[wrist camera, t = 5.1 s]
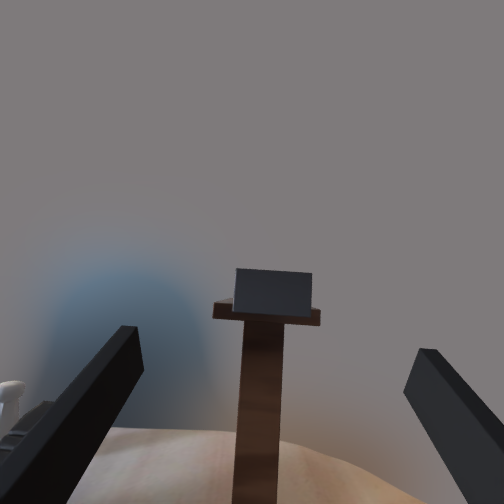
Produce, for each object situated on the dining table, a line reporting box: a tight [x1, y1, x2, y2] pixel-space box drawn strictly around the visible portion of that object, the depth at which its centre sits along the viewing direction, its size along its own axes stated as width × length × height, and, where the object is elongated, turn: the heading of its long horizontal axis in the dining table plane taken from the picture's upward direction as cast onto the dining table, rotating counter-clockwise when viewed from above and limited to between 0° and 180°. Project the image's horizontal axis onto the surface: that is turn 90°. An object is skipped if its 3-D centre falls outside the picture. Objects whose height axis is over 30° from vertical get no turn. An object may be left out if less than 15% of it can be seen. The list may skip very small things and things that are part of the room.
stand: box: [212, 298, 321, 504], centre depth 27 cm, size 14×10×30 cm
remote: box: [233, 268, 312, 318], centre depth 25 cm, size 21×5×3 cm, turn 178°
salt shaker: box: [0, 381, 25, 440], centre depth 40 cm, size 6×6×13 cm
